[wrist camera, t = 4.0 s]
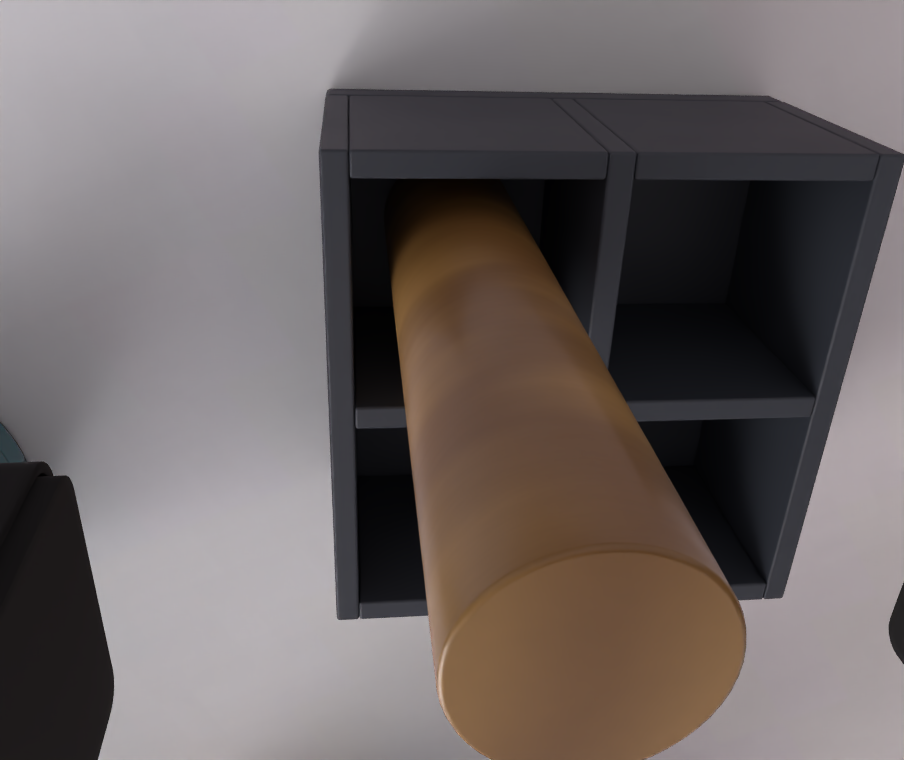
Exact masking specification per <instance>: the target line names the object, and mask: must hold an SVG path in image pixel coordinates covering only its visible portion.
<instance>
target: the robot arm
mask: <svg viewBox="0 0 904 760" xmlns="http://www.w3.org/2000/svg"><path fill="white" fill-rule="evenodd" d="M889 636H890V641H891V644H892V647H893V649H894V651H895V652H896V654H897V656H898V657H899V658H900V660H901V661H902V662H903V664H904V583H903V585H902V588H901V591H900V594H899V596H898V599H897V602H896V604H895V607H894V610H893V612H892V615H891V618H890V622H889ZM113 696H114V675H113V669H112V664H111V659H110V655H109V650H108V645H107V641H106V636H105V631H104V627H103V622H102V617H101V613H100V608H99V603H98V599H97V594H96V589H95V585H94V580H93V575H92V571H91V566H90V561H89V557H88V552H87V547H86V543H85V538H84V533H83V529H82V524H81V519H80V515H79V510H78V505H77V501H76V496H75V491H74V487H73V484H72V481H71V480H70V478H69V477H68V476H66V475H65V476H53V473H52V470H51V468H50V467H49V465H48V464H47V463H45V462H43V461H41V462H14V463H0V760H98V757H99V753H100V749H101V746H102V742H103V739H104V735H105V731H106V728H107V724H108V720H109V717H110V713H111V708H112V704H113Z"/></svg>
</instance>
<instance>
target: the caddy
mask: <svg viewBox="0 0 904 760" xmlns="http://www.w3.org/2000/svg"><path fill="white" fill-rule="evenodd" d="M903 164H904V154H902V153H900V152H897V151H895V150H893V149H891V148H888V147H886V146H884V145H881V144H879V143H877V142H874V141H872V140H870V139H868V138H865V137H863V136H861V135H858V134H856V133H854V132H851V131H849V130H847V129H845V128H842V127H840V126H838V125H835V124H833V123H831V122H828V121H826V120H824V119H822V118H819V117H817V116H815V115H812V114H810V113H808V112H805V111H803V110H801V109H799V108H796V107H794V106H792V105H789V104H787V103H785V102H781V101H779V100H777V99H774V98H772V97H770V96H740V95H678V94H615V93H553V92H491V91H428V90H366V89H329V90H328V91H327V93H326V99H325V107H324V115H323V123H322V131H321V139H320V147H319V171H320V196H321V222H322V248H323V273H324V299H325V325H326V350H327V376H328V402H329V428H330V453H331V479H332V505H333V530H334V556H335V582H336V608H337V618H338V620H347V619H358V618H359V616H360V618H361V619H367V618H388V617H408V616H428V608H427V600H426V591H425V582H424V573H423V564H422V555H421V546H420V538H419V529H418V520H417V511H416V502H415V493H414V484H413V476H412V467H411V458H410V449H409V440H408V431H407V422H406V414H405V405H404V396H403V387H402V378H401V369H400V360H399V351H398V343H397V334H396V325H395V316H394V307H393V298H392V289H391V281H390V272H389V263H388V254H387V245H386V236H385V227H384V209H385V204H386V200H387V197H388V195H389V192H390V190H391V188H392V186H393V185H394V183H395V182H396V181H397V179H500V181H501V182H502V184H503V186H504V187H505V189H506V191H507V193H508V194H509V196H510V198H511V200H512V202H513V203H514V205H515V207H516V209H517V210H518V212H519V214H520V216H521V217H522V219H523V221H524V223H525V224H526V226H527V228H528V230H529V232H530V233H531V235H532V237H533V239H534V240H535V242H536V244H537V246H538V247H539V249H540V251H541V253H542V254H543V256H544V258H545V260H546V262H547V263H548V265H549V267H550V269H551V270H552V272H553V274H554V276H555V277H556V279H557V281H558V283H559V285H560V286H561V288H562V290H563V292H564V293H565V295H566V297H567V299H568V300H569V302H570V304H571V306H572V307H573V309H574V311H575V313H576V315H577V316H578V318H579V320H580V322H581V323H582V325H583V327H584V329H585V330H586V332H587V334H588V336H589V337H590V339H591V341H592V343H593V345H594V346H595V348H596V350H597V352H598V353H599V355H600V357H601V359H602V360H603V362H604V364H605V366H606V367H607V369H608V371H609V373H610V375H611V376H612V378H613V380H614V382H615V383H616V385H617V387H618V389H619V390H620V392H621V394H622V396H623V397H624V399H625V401H626V403H627V405H628V406H629V408H630V410H631V412H632V413H633V415H634V417H635V419H636V420H637V422H638V424H639V426H640V427H641V429H642V431H643V433H644V435H645V436H646V438H647V440H648V442H649V443H650V445H651V447H652V449H653V450H654V452H655V454H656V456H657V457H658V459H659V461H660V463H661V465H662V466H663V468H664V470H665V472H666V473H667V475H668V477H669V479H670V480H671V482H672V484H673V486H674V487H675V489H676V491H677V493H678V495H679V496H680V498H681V500H682V502H683V503H684V505H685V507H686V509H687V510H688V512H689V514H690V516H691V517H692V519H693V521H694V523H695V525H696V526H697V528H698V530H699V532H700V533H701V535H702V537H703V539H704V540H705V542H706V544H707V546H708V548H709V549H710V551H711V553H712V555H713V556H714V558H715V560H716V562H717V563H718V565H719V567H720V569H721V570H722V572H723V574H724V576H725V578H726V579H727V581H728V583H729V585H730V586H731V588H732V590H733V592H734V593H735V595H736V597H737V599H738V600H754V599H762V598H764V599H774V598H782V597H783V594H784V591H785V587H786V584H787V580H788V577H789V573H790V569H791V566H792V562H793V559H794V555H795V551H796V548H797V544H798V541H799V537H800V533H801V530H802V526H803V523H804V519H805V516H806V512H807V508H808V505H809V501H810V498H811V494H812V490H813V487H814V483H815V480H816V476H817V472H818V469H819V465H820V462H821V458H822V455H823V451H824V447H825V444H826V440H827V437H828V433H829V429H830V426H831V422H832V419H833V415H834V412H835V408H836V404H837V401H838V397H839V394H840V390H841V386H842V383H843V379H844V376H845V372H846V368H847V365H848V361H849V358H850V354H851V351H852V347H853V343H854V340H855V336H856V333H857V329H858V325H859V322H860V318H861V315H862V311H863V308H864V304H865V300H866V297H867V293H868V290H869V286H870V282H871V279H872V275H873V272H874V268H875V264H876V261H877V257H878V254H879V250H880V247H881V243H882V239H883V236H884V232H885V229H886V225H887V221H888V218H889V214H890V211H891V207H892V204H893V200H894V196H895V193H896V189H897V186H898V182H899V178H900V175H901V171H902V168H903Z"/></svg>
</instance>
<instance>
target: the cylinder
mask: <svg viewBox="0 0 904 760" xmlns="http://www.w3.org/2000/svg"><path fill="white" fill-rule="evenodd" d="M384 227H385V236H386V245H387V254H388V263H389V272H390V281H391V289H392V298H393V307H394V316H395V325H396V334H397V343H398V351H399V360H400V369H401V378H402V387H403V396H404V405H405V414H406V422H407V431H408V440H409V449H410V458H411V467H412V476H413V484H414V493H415V502H416V511H417V520H418V529H419V538H420V546H421V555H422V564H423V573H424V582H425V591H426V600H427V608H428V617H429V626H430V635H431V644H432V653H433V662H434V671H435V679H436V688H437V693H438V697H439V702H440V705H441V707H442V709H443V712H444V714H445V716H446V718H447V719H448V721H449V722H450V724H451V725H452V727H453V728H454V730H455V731H456V732H457V734H458V735H459V736H460V737H461V738H462V739H463V740H464V741H465V742H466V743H467V744H468V745H470V746H471V747H472V748H474V749H475V750H476V751H478V752H479V753H481V754H482V755H484V756H486V757H488V758H489V759H491V760H644V759H647V758H649V757H652V756H654V755H656V754H658V753H660V752H662V751H664V750H666V749H668V748H669V747H671V746H673V745H674V744H676V743H678V742H679V741H681V740H683V739H684V738H685V737H687V736H688V735H690V734H691V733H692V732H694V731H695V730H696V729H698V728H699V727H700V726H701V725H702V724H703V723H704V722H705V721H706V720H708V719H709V718H710V717H711V716H712V715H713V713H714V712H715V711H716V710H717V709H718V708H719V707H720V706H721V704H722V703H723V702H724V700H725V699H726V697H727V696H728V695H729V693H730V692H731V690H732V688H733V686H734V684H735V682H736V680H737V679H738V677H739V674H740V671H741V668H742V665H743V662H744V657H745V651H746V624H745V619H744V614H743V611H742V608H741V606H740V603H739V601H738V599H737V597H736V595H735V593H734V592H733V590H732V588H731V586H730V585H729V583H728V581H727V579H726V578H725V576H724V574H723V572H722V570H721V569H720V567H719V565H718V563H717V562H716V560H715V558H714V556H713V555H712V553H711V551H710V549H709V548H708V546H707V544H706V542H705V540H704V539H703V537H702V535H701V533H700V532H699V530H698V528H697V526H696V525H695V523H694V521H693V519H692V517H691V516H690V514H689V512H688V510H687V509H686V507H685V505H684V503H683V502H682V500H681V498H680V496H679V495H678V493H677V491H676V489H675V487H674V486H673V484H672V482H671V480H670V479H669V477H668V475H667V473H666V472H665V470H664V468H663V466H662V465H661V463H660V461H659V459H658V457H657V456H656V454H655V452H654V450H653V449H652V447H651V445H650V443H649V442H648V440H647V438H646V436H645V435H644V433H643V431H642V429H641V427H640V426H639V424H638V422H637V420H636V419H635V417H634V415H633V413H632V412H631V410H630V408H629V406H628V405H627V403H626V401H625V399H624V397H623V396H622V394H621V392H620V390H619V389H618V387H617V385H616V383H615V382H614V380H613V378H612V376H611V375H610V373H609V371H608V369H607V367H606V366H605V364H604V362H603V360H602V359H601V357H600V355H599V353H598V352H597V350H596V348H595V346H594V345H593V343H592V341H591V339H590V337H589V336H588V334H587V332H586V330H585V329H584V327H583V325H582V323H581V322H580V320H579V318H578V316H577V315H576V313H575V311H574V309H573V307H572V306H571V304H570V302H569V300H568V299H567V297H566V295H565V293H564V292H563V290H562V288H561V286H560V285H559V283H558V281H557V279H556V277H555V276H554V274H553V272H552V270H551V269H550V267H549V265H548V263H547V262H546V260H545V258H544V256H543V254H542V253H541V251H540V249H539V247H538V246H537V244H536V242H535V240H534V239H533V237H532V235H531V233H530V232H529V230H528V228H527V226H526V224H525V223H524V221H523V219H522V217H521V216H520V214H519V212H518V210H517V209H516V207H515V205H514V203H513V202H512V200H511V198H510V196H509V194H508V193H507V191H506V189H505V187H504V186H503V184H502V182H501V181H500V179H397V181H396V182H395V183H394V185H393V186H392V188H391V190H390V192H389V195H388V197H387V200H386V204H385V209H384Z"/></svg>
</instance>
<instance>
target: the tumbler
mask: <svg viewBox="0 0 904 760" xmlns="http://www.w3.org/2000/svg"><path fill="white" fill-rule="evenodd" d="M14 462H26V460H25V458H24V455H23V453H22V451H21V449H20V448H19V446H18V445H17V443H16V442H15V440H14V439H13V437H12V436H11V434H10V433H9V432H8V431H7V430H6V429H5V427H4V426H3V425H2V424H1V423H0V463H14Z"/></svg>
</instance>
